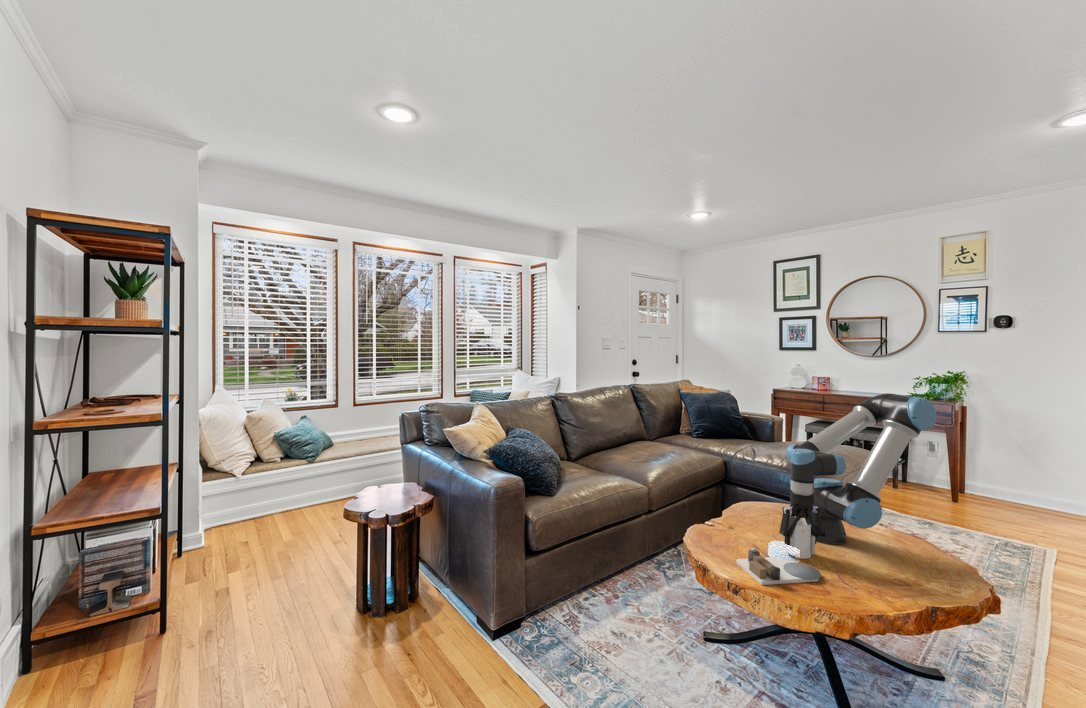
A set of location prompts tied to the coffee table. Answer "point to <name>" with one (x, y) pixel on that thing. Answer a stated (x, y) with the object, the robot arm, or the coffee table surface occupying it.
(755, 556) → the leg
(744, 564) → the stand board
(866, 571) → the coffee table surface
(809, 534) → the mug
